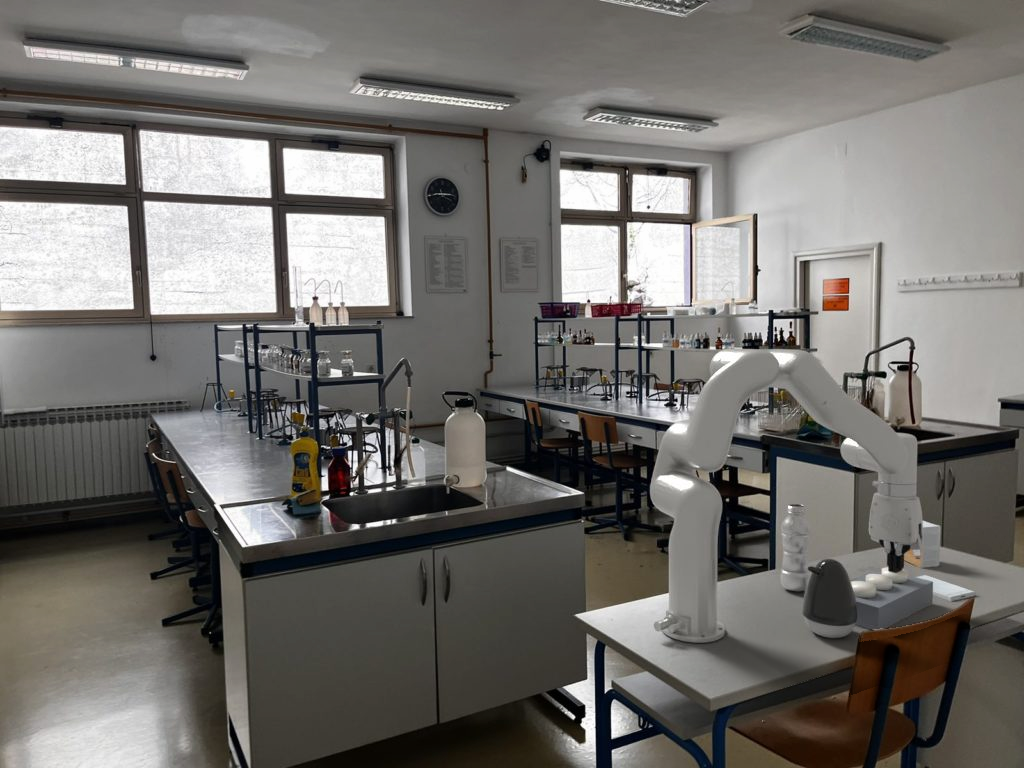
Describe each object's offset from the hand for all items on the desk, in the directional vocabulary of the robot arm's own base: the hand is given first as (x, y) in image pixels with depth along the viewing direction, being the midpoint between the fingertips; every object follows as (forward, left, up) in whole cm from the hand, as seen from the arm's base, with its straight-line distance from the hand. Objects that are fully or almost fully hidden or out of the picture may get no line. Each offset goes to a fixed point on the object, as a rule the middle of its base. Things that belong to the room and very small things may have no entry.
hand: (895, 570), depth 168 cm
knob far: (0, 0, -6) cm, 6 cm away
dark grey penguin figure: (-27, 0, -7) cm, 28 cm away
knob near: (-14, 0, -6) cm, 15 cm away
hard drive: (+15, -3, -8) cm, 17 cm away
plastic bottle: (-10, +18, -7) cm, 22 cm away
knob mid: (-7, 0, -6) cm, 9 cm away
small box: (+32, +9, -7) cm, 34 cm away
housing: (-7, 0, -7) cm, 10 cm away
